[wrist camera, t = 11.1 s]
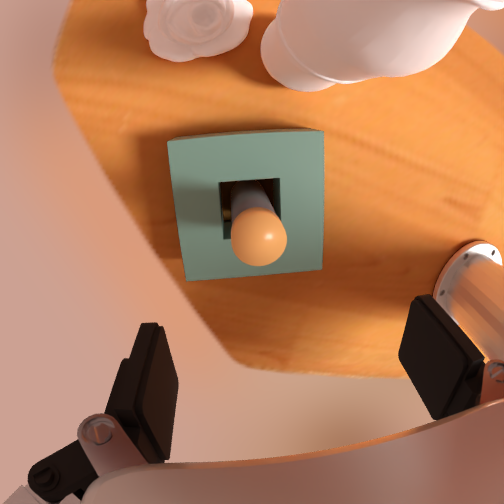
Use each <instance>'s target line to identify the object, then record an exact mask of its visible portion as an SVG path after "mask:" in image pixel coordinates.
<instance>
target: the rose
mask: <svg viewBox="0 0 504 504" xmlns="http://www.w3.org/2000/svg"><path fill="white" fill-rule="evenodd" d="M146 8H147V15H146V18H145V21H144V36H145V38H146V39H147V40H149V45H150V48H151V50H152V52H153V53H154V54H155V55H157V56H159V57H161V58H163V59H167V60H170V61H173V62H185V61H190V60H193V59H195V58H198V57H209V56H216V55H219V54H222V53H224V52H227V51H229V50H231V49H233V48H235V47H237V46H238V45H239V44H240V43H242V42H243V41H244V39H245V38H246V36H247V34H248V31H249V25H250V21H251V19H252V16H253V8H252V5H251V4H250V3H249V2H248V1H246V0H147V1H146Z"/></svg>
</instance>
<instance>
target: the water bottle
mask: <svg viewBox="0 0 504 504" xmlns="http://www.w3.org/2000/svg"><path fill="white" fill-rule="evenodd" d="M503 7H504V0H281V2H280V4H279V7H278V10H277V14H276V19H274V20H273V21H272V22H271V23H270V24H269V26H268V27H267V29H266V31H265V33H264V35H263V38H262V41H261V58H262V61H263V64H264V66H265V68H266V70H267V71H268V73H269V74H270V75H271V77H273V78H274V79H275V80H277V81H278V82H280V83H281V84H283V85H284V86H285V87H287V88H289V89H292V90H296V91H303V92H312V91H319V90H323V89H326V88H328V87H330V86H332V85H334V84H335V83H342V84H349V83H355V82H360V81H364V80H366V79H370V78H376V77H382V76H386V77H402V76H407V75H411V74H415V73H418V72H420V71H423V70H425V69H427V68H429V67H431V66H432V65H434V64H435V63H437V62H438V61H440V60H441V59H442V58H443V57H444V56H445V55H446V54H447V53H448V51H449V50H450V49H451V48H452V47H453V45H454V44H455V42H456V40H457V39H458V37H459V36H460V34H461V33H462V31H463V29H464V27H465V25H466V23H467V21H468V19H469V17H470V15H471V14H472V13H473V12H474V11H475V10H476V9H478V8H481V9H484V10H491V11H492V10H499V9H502V8H503Z"/></svg>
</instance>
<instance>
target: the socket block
mask: <svg viewBox="0 0 504 504" xmlns="http://www.w3.org/2000/svg"><path fill="white" fill-rule="evenodd" d="M167 146H168V156H169V165H170V173H171V182H172V190H173V197H174V205H175V212H176V219H177V226H178V233H179V240H180V246H181V253H182V259H183V265H184V271H185V277H186V281H199V280H211V279H224V278H236V277H248V276H259V275H271V274H282V273H292V272H303V271H313V270H322V262H323V233H324V131H320V130H315V129H311V128H297V129H267V130H249V131H234V132H221V133H210V134H200V135H191V136H182V137H175V138H173V139H171V140H169V141H167ZM269 178H273V202H274V211H275V213H276V215H277V216H278V217H279V219H280V221H281V223H282V225H283V227H284V229H285V231H286V235H287V244H286V247H285V250H284V252H283V253H282V255H281V256H280V257H279V258H278V259H277V260H276V261H274V262H272V263H270V264H268V265H264V266H252V265H248V264H246V263H244V262H242V261H241V260H240V259H239V258H238V257H237V256H236V255H235V253H234V251H233V249H232V244H231V227H232V221H226V222H224V220H223V209H222V198H221V187H220V182H227V181H240V180H254V179H269Z"/></svg>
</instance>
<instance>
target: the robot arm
mask: <svg viewBox="0 0 504 504" xmlns="http://www.w3.org/2000/svg"><path fill="white" fill-rule="evenodd" d="M459 324H460V325H461V327H462V328H463V329H464V330H465V331H466V332H467V333H468V335H469V336H470V337H471V338H472V339H473V340H474V341H475V343H476V344H477V345H478V346H479V347H480V349H481V350H482V351H483V352H484V353H485V355H486V356H487V357H488V358H489V359H490V361H488V362H487V363H486V364H485V363H484V362H483V360H484V358H485V357H484V356H483V355H482V353H481V352H480V351H479V350H478V348H477V347H476V346H475V345H474V344H473V342H472V341H471V340H470V339H469V338H468V336H467V335H466V334H465V333H464V332H463V331H462V329H461V328H460V327H459V326H458V325H459ZM398 356H399V360H400V362H401V364H402V365H403V367H404V369H405V371H406V372H407V374H408V376H409V378H410V379H411V381H412V383H413V385H414V386H415V388H416V390H417V392H418V393H419V395H420V397H421V398H422V401H423V402H424V404H425V406H426V408H427V409H428V411H429V413H430V415H431V417H432V418H433V419H434V420H437V421H434V422H431V423H428V424H426V425H423V426H419V427H416V428H413V429H410V430H407V431H403V432H400V433H396V434H392V435H389V436H385V437H382V438H377V439H373V440H369V441H365V442H361V443H357V444H352V445H348V446H343V447H338V448H333V449H328V450H322V451H316V452H310V453H303V454H296V455H289V456H281V457H273V458H263V459H252V460H237V461H220V462H185V463H164V462H165V460H169V458H170V451H171V442H172V433H173V425H174V417H175V409H176V401H177V394H178V377H177V373H176V370H175V367H174V363H173V360H172V356H171V353H170V349H169V345H168V342H167V338H166V334H165V331H164V328H163V326H159V325H158V323H142V324H141V325H140V328H139V331H138V334H137V337H136V340H135V343H134V346H133V348H132V352H131V355H130V357H129V359H127V358H124V359H123V360H122V362H121V364H120V367H119V370H118V373H117V376H116V379H115V382H114V385H113V388H112V391H111V394H110V397H109V400H108V403H107V406H106V410H105V413H104V414H102V413H101V414H94V415H91V416H89V417H87V418H86V419H84V420H83V422H82V423H81V424H80V425H79V428H78V432H77V436H78V440H76V441H74V442H73V443H71V444H69V445H68V446H66V447H64V448H63V449H60V450H59V451H57V452H55V453H53V454H52V455H50V456H48V457H46V458H45V459H43V460H41V461H39V462H37V463H36V464H35V465H33V466H32V468H31V469H30V471H29V474H28V484H27V485H26V486H25V487H23V486H22V485H21V486H20V487H19V488H18V489H17V490H16V491H15V492H14V493H13V494H12V495H11V496H10V497H9V498H8V499H7V500H6V501H5V502H4V503H3V504H504V267H503V266H502V258H501V255H500V253H499V251H498V250H497V248H496V247H495V246H493V245H492V244H490V243H488V242H486V241H475V242H472V243H469V244H467V245H466V246H464V247H462V248H461V249H460V250H459V251H457V252H456V253H455V254H454V255H453V256H452V257H451V259H450V260H449V261H448V262H447V264H446V265H445V266H444V268H443V270H442V272H441V273H440V275H439V277H438V280H437V282H436V285H435V289H434V292H433V297H432V296H431V295H429V294H427V295H421V296H417V297H415V299H414V300H413V301H412V302H411V305H410V309H409V314H408V318H407V322H406V326H405V330H404V334H403V338H402V341H401V345H400V349H399V353H398Z"/></svg>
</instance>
